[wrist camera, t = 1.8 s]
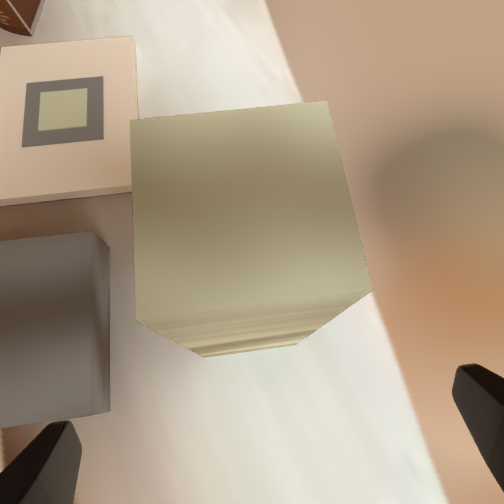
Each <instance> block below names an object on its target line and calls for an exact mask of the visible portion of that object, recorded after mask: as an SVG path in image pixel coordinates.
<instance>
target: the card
mask: <svg viewBox="0 0 504 504" xmlns="http://www.w3.org/2000/svg"><path fill="white" fill-rule="evenodd" d="M136 119H138V104H137V79H136V53H135V43H134V40H133V37H132V36H125V37H114V38H102V39H91V40H79V41H67V42H56V43H44V44H32V45H21V46H9V47H1V54H0V206H8V205H17V204H26V203H35V202H44V201H53V200H62V199H71V198H80V197H90V196H99V195H108V194H117V193H126V192H132V181H131V148H130V120H136Z"/></svg>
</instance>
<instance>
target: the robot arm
mask: <svg viewBox="0 0 504 504" xmlns="http://www.w3.org/2000/svg"><path fill="white" fill-rule="evenodd" d="M452 395H453V399H454V401H455V403H456V405H457V407H458V409H459V411H460V413H461V415H462V417H463V419H464V421H465V423H466V425H467V427H468V429H469V431H470V433H471V435H472V437H473V439H474V441H475V443H476V445H477V447H478V449H479V451H480V453H481V455H482V456H483V459H484V460H485V462H486V464H487V466H488V468H489V469H490V471H491V473H492V474H493V476H494V477H495V479H496V481H497V482H498V484H499V486H500V487H501V489H502V490H503V492H504V378H503V377H501V376H499V375H497V374H495V373H494V372H492V371H490V370H488V369H486V368H484V367H483V366H481V365H478V364H467V365H461V366H459V367H458V368H457V370H456V374H455V378H454V383H453V388H452ZM81 455H82V446H81V442H80V440H79V438H78V435H77V433H76V431H75V428H74V426H73V424H72V422H70V421H68V420H66V421H58V422H53V423H50V424H49V425H47V426H46V427H45V428H44V429H43V430H42V431H41V432H40V433H39V434H38V436H37V437H36V438H35V439H34V440H33V441H32V442H31V443H30V444H29V445H28V446H27V447H26V448H25V449H24V450H23V451H22V452H21V453H20V454H19V455H18V456H17V457H16V458H15V459H14V460H13V461H12V462H11V463H10V464H9V465H8V466H7V467H6V468H5V469H4V470H3V471H2V472H1V473H0V504H73V500H74V494H75V489H76V483H77V478H78V472H79V466H80V461H81Z"/></svg>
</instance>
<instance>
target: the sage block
mask: <svg viewBox="0 0 504 504" xmlns="http://www.w3.org/2000/svg"><path fill="white" fill-rule="evenodd" d="M130 148H131V181H132V213H133V246H134V279H135V312H136V321H137V322H139V323H141V324H143V325H145V326H147V327H148V328H150V329H152V330H154V331H156V332H158V333H160V334H161V335H163V336H165V337H167V338H169V339H171V340H173V341H174V342H176V343H178V344H180V345H182V346H184V347H186V348H187V349H189V350H191V351H193V352H195V353H197V354H199V355H200V356H202V357H211V356H218V355H226V354H233V353H240V352H248V351H255V350H262V349H270V348H277V347H284V346H292V345H296V344H298V343H299V342H301V341H302V340H303V339H305V338H306V337H308V336H309V335H310V334H312V333H313V332H315V331H316V330H317V329H319V328H320V327H322V326H323V325H324V324H326V323H327V322H329V321H330V320H332V319H333V318H334V317H336V316H337V315H339V314H340V313H341V312H343V311H344V310H346V309H347V308H348V307H350V306H351V305H353V304H354V303H356V302H357V301H358V300H360V299H361V298H363V297H364V296H365V295H367V294H368V293H370V292H371V291H372V290H373V287H372V283H371V279H370V275H369V271H368V267H367V263H366V259H365V255H364V251H363V246H362V242H361V238H360V234H359V230H358V226H357V222H356V218H355V214H354V210H353V206H352V202H351V198H350V194H349V189H348V185H347V181H346V177H345V173H344V169H343V165H342V161H341V157H340V153H339V149H338V145H337V141H336V136H335V133H334V128H333V125H332V120H331V116H330V112H329V108H328V104H327V101H320V102H308V103H298V104H288V105H278V106H268V107H257V108H247V109H237V110H227V111H217V112H207V113H196V114H186V115H176V116H166V117H156V118H146V119H136V120H130Z"/></svg>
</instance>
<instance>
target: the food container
mask: <svg viewBox="0 0 504 504" xmlns="http://www.w3.org/2000/svg"><path fill="white" fill-rule="evenodd" d="M44 3H45V0H0V27H1V28H2V29H4V30H7V31H9V32H11V33H15V34H19V35H24V36H33V34H34V31H35V28H36V25H37V22H38V19H39V17H40V14H41V11H42V8H43V5H44Z"/></svg>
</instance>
